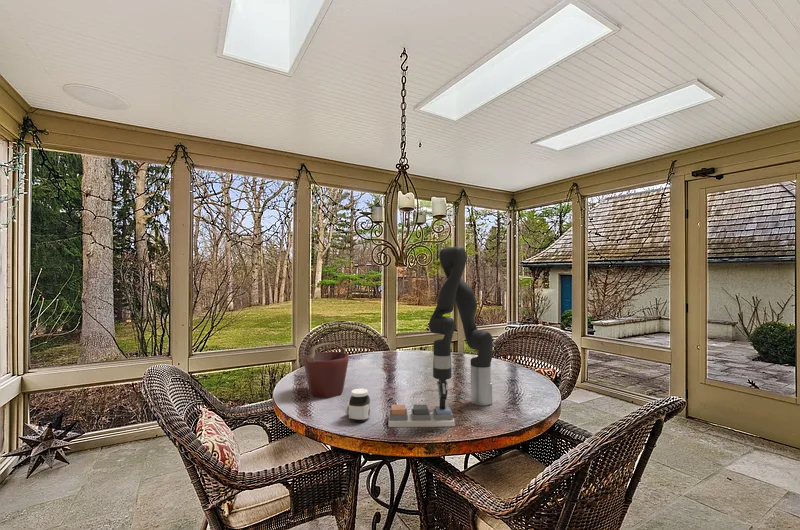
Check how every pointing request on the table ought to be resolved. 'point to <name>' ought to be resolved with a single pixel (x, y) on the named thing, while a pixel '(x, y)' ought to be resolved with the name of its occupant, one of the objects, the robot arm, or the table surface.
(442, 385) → the robot arm
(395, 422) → the key panel
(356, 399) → the spread jar
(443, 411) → the slate key
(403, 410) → the terracotta key
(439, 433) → the table surface
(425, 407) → the charcoal key
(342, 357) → the bucket
